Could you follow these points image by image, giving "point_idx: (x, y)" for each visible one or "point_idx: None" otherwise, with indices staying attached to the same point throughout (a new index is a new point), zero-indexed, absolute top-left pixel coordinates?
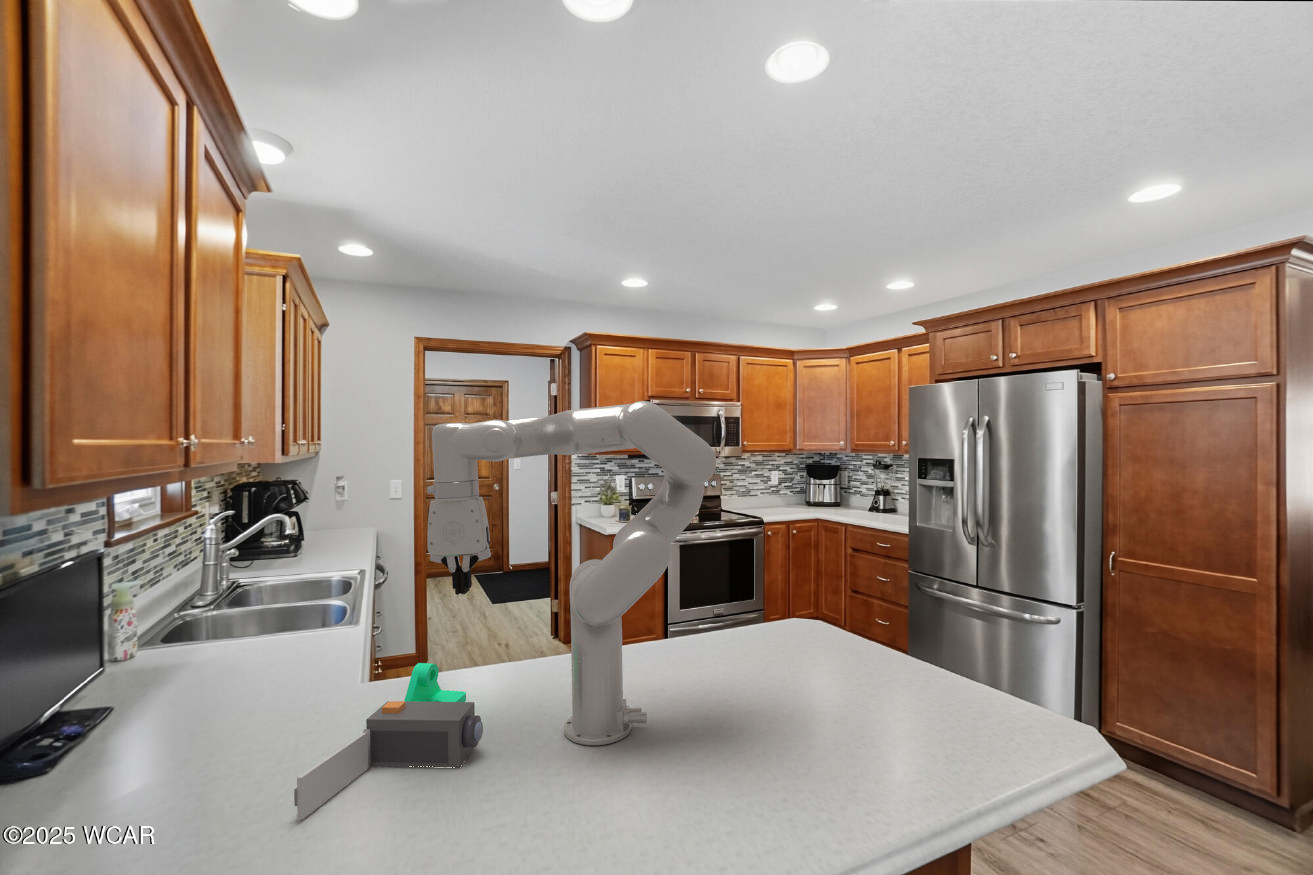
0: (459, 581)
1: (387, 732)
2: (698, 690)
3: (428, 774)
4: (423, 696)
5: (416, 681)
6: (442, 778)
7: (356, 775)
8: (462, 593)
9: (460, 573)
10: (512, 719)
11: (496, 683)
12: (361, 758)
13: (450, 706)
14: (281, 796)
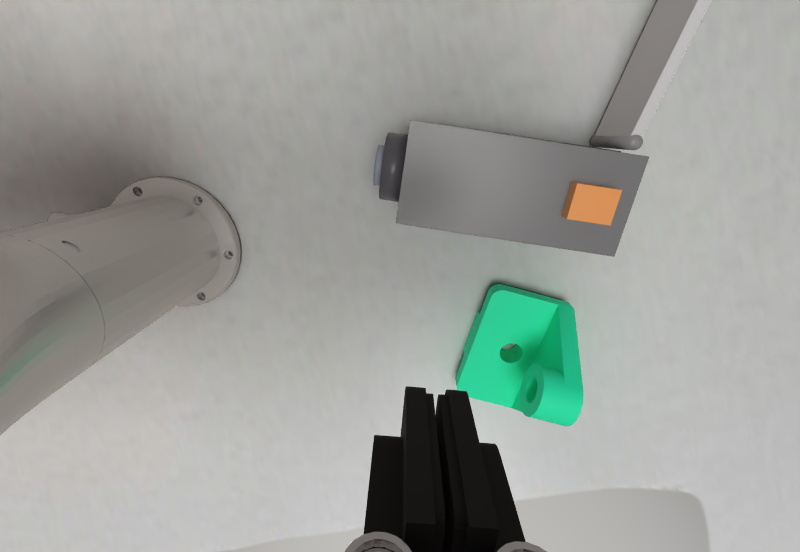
0: (444, 465)
1: (582, 146)
2: None
3: (469, 107)
4: (539, 362)
5: (564, 366)
6: (438, 88)
7: (612, 100)
8: (417, 387)
9: (432, 515)
10: (352, 304)
11: None
12: (617, 115)
13: (449, 206)
14: (745, 53)
